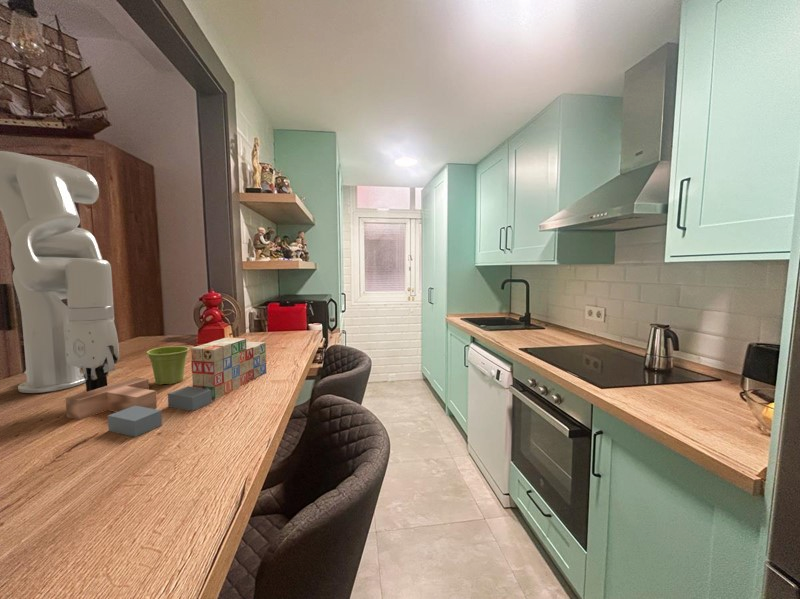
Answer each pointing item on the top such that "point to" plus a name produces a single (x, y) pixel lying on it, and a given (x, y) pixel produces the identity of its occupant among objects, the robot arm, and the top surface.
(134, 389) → the t block
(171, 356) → the plant pot
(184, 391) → the t dock
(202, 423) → the top surface
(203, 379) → the stack of blocks
